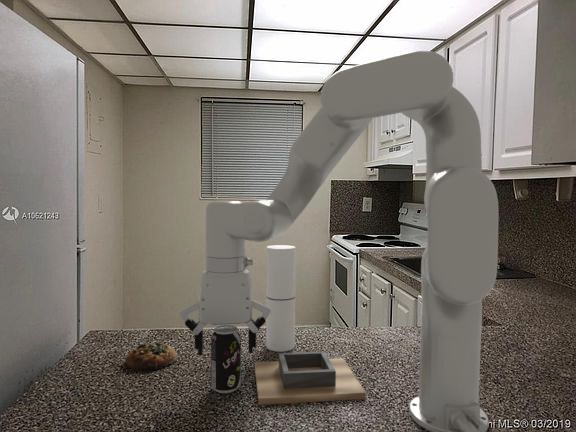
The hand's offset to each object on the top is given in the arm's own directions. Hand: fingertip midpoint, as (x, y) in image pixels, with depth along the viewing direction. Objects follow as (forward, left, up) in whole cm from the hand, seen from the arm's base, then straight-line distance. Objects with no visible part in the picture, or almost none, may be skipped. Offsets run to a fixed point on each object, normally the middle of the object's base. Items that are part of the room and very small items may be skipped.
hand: (225, 351), depth 80 cm
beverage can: (0, 0, -8) cm, 8 cm away
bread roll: (+15, +17, -8) cm, 24 cm away
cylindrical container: (+21, -13, -8) cm, 26 cm away
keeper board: (+1, -16, -7) cm, 18 cm away
